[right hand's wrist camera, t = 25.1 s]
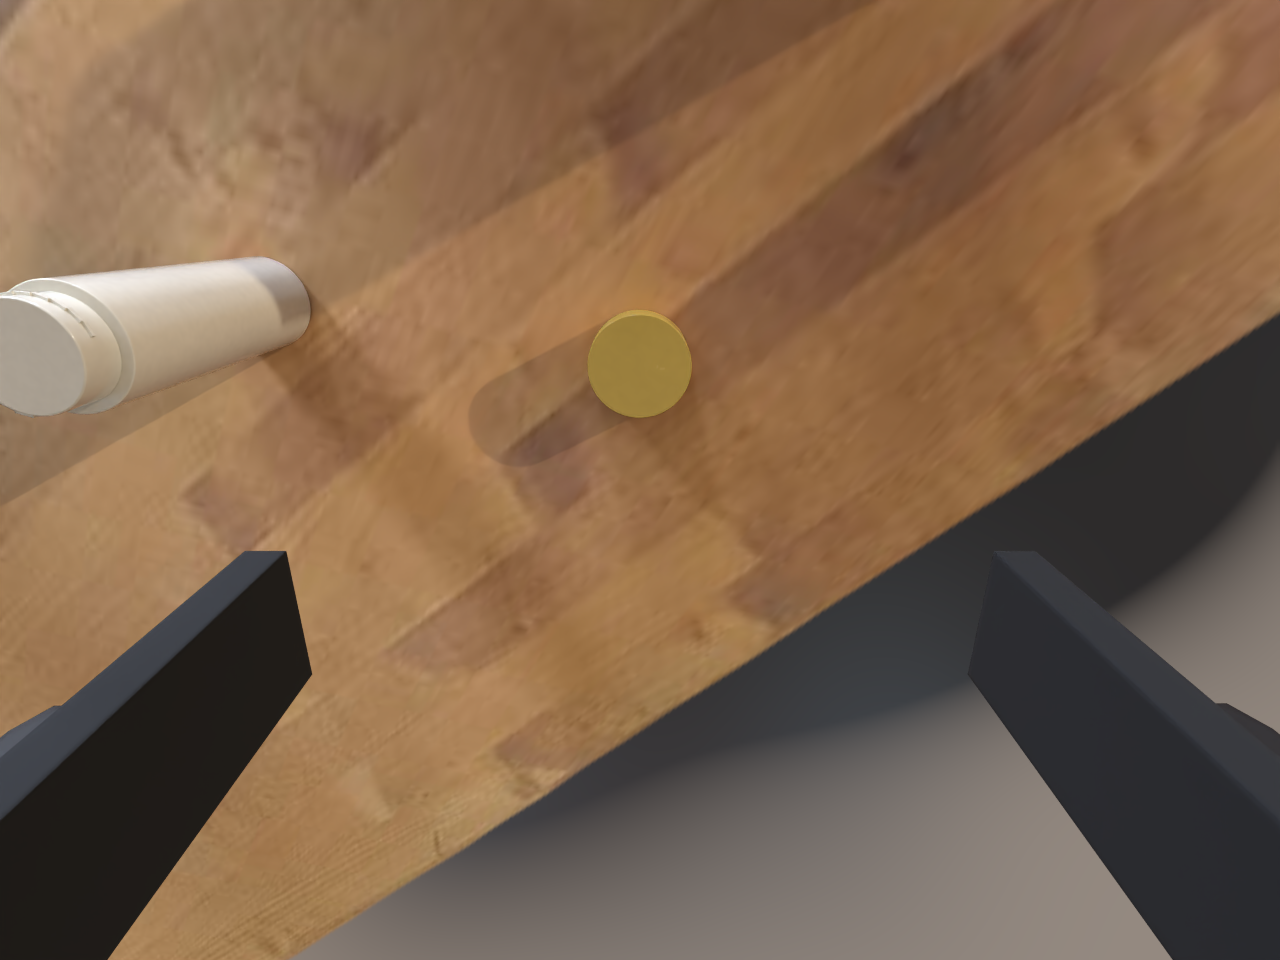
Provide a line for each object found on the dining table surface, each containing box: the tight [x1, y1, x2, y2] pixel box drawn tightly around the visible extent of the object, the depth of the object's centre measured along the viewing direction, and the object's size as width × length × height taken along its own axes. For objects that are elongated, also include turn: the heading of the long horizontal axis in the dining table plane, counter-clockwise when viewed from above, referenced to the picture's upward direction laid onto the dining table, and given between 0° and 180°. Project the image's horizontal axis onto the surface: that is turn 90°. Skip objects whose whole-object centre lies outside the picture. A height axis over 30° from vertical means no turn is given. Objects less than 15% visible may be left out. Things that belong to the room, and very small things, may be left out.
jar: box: [0, 257, 311, 418], centre depth 29 cm, size 5×5×15 cm
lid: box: [587, 310, 692, 418], centre depth 36 cm, size 5×5×2 cm
